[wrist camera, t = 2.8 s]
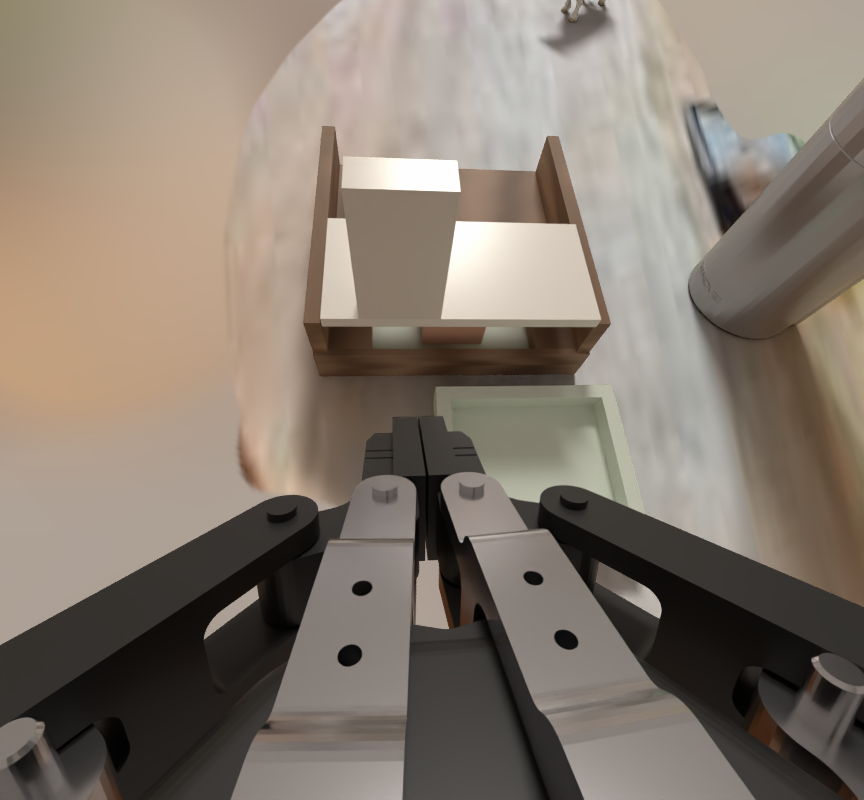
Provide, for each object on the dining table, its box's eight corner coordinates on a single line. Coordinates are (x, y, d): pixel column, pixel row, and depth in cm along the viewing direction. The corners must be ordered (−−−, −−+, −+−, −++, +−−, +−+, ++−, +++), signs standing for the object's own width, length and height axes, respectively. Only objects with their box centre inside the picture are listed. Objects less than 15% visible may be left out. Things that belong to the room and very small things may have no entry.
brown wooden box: (535, 199, 43) (558, 135, 37) (574, 374, 34) (611, 326, 28) (333, 193, 41) (322, 124, 35) (320, 375, 32) (303, 325, 26)
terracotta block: (475, 297, 34) (485, 256, 30) (480, 344, 33) (492, 307, 28) (420, 296, 34) (423, 255, 30) (422, 344, 32) (426, 306, 28)
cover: (571, 232, 31) (639, 88, 23) (595, 327, 28) (688, 199, 19) (329, 227, 30) (301, 69, 21) (322, 326, 26) (284, 186, 17)
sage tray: (598, 398, 33) (612, 384, 31) (634, 546, 28) (652, 541, 26) (433, 400, 32) (435, 386, 30) (441, 554, 27) (445, 551, 25)
